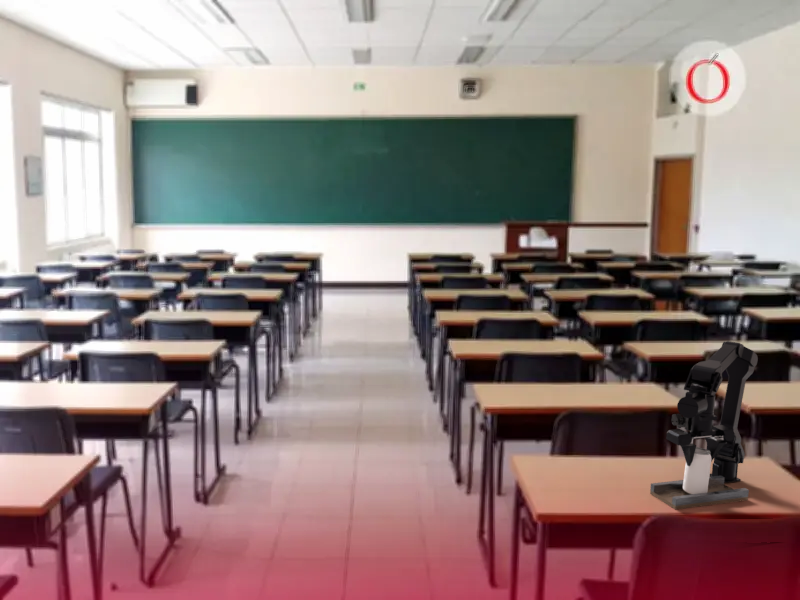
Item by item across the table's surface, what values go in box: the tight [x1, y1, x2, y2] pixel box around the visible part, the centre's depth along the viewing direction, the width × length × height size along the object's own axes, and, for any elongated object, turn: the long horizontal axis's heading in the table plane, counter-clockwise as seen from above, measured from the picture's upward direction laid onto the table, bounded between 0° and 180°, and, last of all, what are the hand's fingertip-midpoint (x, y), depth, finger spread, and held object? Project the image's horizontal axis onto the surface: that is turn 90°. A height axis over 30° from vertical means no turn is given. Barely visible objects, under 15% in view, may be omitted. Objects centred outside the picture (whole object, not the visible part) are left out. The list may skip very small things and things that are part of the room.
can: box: [683, 446, 712, 494], centre depth 209 cm, size 6×6×12 cm
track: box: [649, 476, 750, 510], centre depth 210 cm, size 24×11×3 cm, turn 108°
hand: (698, 464), depth 209 cm, fingers closed on can, 6 cm apart
